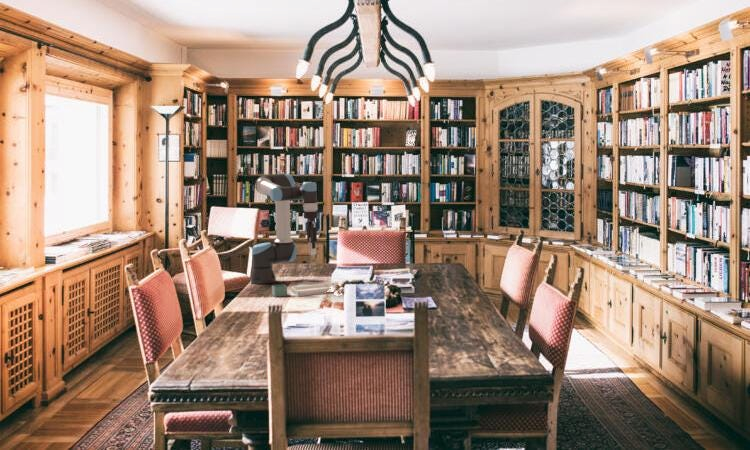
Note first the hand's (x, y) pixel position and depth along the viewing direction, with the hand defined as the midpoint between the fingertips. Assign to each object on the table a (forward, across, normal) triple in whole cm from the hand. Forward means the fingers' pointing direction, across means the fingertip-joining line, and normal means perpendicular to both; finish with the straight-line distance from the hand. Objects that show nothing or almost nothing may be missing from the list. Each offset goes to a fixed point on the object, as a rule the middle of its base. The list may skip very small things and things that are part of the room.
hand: (312, 254), depth 372 cm
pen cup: (+21, -1, -19) cm, 28 cm away
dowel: (+7, 0, 0) cm, 7 cm away
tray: (+21, 0, 0) cm, 21 cm away
